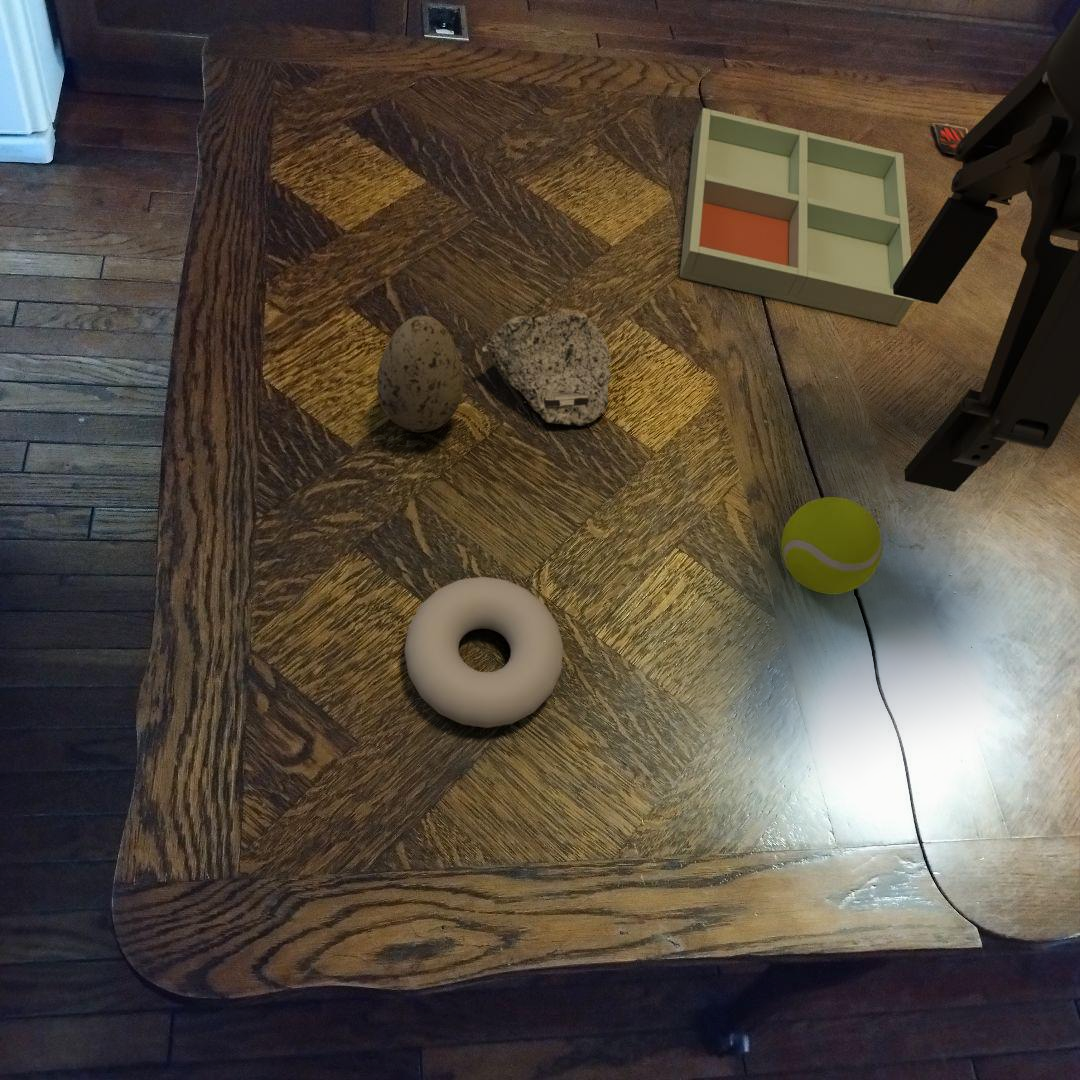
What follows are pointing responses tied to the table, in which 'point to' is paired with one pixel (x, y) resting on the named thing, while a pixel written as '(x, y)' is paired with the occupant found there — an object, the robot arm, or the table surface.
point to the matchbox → (949, 136)
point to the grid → (796, 217)
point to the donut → (472, 691)
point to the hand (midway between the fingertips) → (921, 382)
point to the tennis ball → (831, 545)
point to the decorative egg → (420, 376)
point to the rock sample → (555, 365)
